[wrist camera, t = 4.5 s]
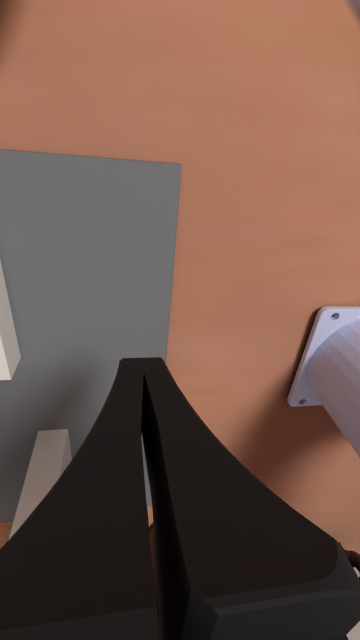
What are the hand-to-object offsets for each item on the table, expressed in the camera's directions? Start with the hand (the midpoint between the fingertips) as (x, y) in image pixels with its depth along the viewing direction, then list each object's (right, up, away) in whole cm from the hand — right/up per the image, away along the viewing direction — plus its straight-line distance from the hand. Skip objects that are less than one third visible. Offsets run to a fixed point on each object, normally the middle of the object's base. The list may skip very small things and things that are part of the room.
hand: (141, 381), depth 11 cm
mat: (-7, -2, +9) cm, 12 cm away
